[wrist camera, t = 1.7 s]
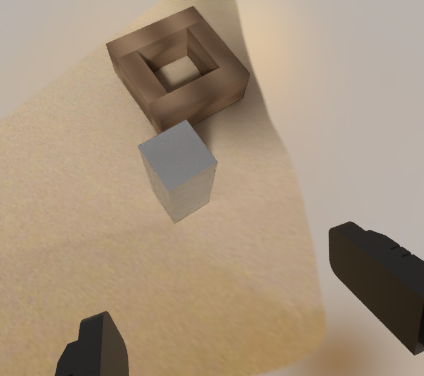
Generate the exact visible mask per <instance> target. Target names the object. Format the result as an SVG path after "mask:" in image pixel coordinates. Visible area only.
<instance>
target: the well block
mask: <svg viewBox="0 0 424 376" xmlns="http://www.w3.org/2000/svg"><path fill="white" fill-rule="evenodd" d="M106 46H107V49H108V52H109V55H110V58H111V61H112V64H113V67H114V70H115V72H116V74H117V75H118V76H119V78H120V79H121V81H122V82H123V84H124V85H125V86H126V88H127V89H128V91H129V92H130V94H131V95H132V96H133V98H134V99H135V101H136V102H137V104H138V105H139V107H140V108H141V109H142V111H143V112H144V114H145V115H146V117H147V118H148V119H149V121H150V122H151V124H152V125H153V127H154V128H155V130H156V131H157V132H158V134H161V133H162V132H164V131H166V130H168V129H170V128H172V127H174V126H175V125H177V124H179V123H181V122H183V121H185V120H187V121H188V122H189V124H190V125H191V126H192V125H194V124H196V123H198V122H200V121H201V120H203V119H205V118H207V117H209V116H210V115H212V114H214V113H216V112H218V111H220V110H221V109H223V108H225V107H227V106H229V105H230V104H232V103H234V102H236V101H238V100H240V99H241V98H243V96H244V93H245V89H246V86H247V82H248V79H249V75H250V73H249V72H248V70H247V69H246V68H245V67H244V66H243V65H242V63H241V62H240V61H239V60H238V59H237V57H236V56H235V55H234V54H233V53H232V52H231V50H230V49H229V48H228V47H227V46H226V44H225V43H224V42H223V41H222V40H221V39H220V37H219V36H218V35H217V34H216V33H215V31H214V30H213V29H212V28H211V27H210V26H209V24H208V23H207V22H206V21H205V20H204V18H203V17H202V16H201V15H200V14H199V13H198V11H197V10H196V9H195V8H194V7H193V6H192V7H190V8H188V9H185V10H183V11H181V12H178V13H176V14H174V15H171V16H169V17H167V18H164V19H162V20H160V21H158V22H155V23H153V24H151V25H148V26H146V27H144V28H141V29H139V30H137V31H134V32H132V33H130V34H127V35H125V36H123V37H121V38H118V39H116V40H114V41H111V42H109V43H107V44H106ZM186 55H188V57H189V58H190V59H191V60H192V62H193V63H194V64H195V65H196V67H197V68H198V69H199V70H200V72H201V73H202V74H203V76H202V77H200V78H198V79H196V80H194V81H192V82H190V83H188V84H186V85H184V86H182V87H180V88H178V89H176V90H174V91H172V92H170V93H167V91H166V90H165V89H164V87H163V86H162V85H161V83H160V82H159V81H158V79H157V78H156V77H155V75H154V74H153V71H155V70H157V69H159V68H161V67H163V66H165V65H167V64H169V63H172V62H174V61H176V60H178V59H180V58H182V57H184V56H186Z"/></svg>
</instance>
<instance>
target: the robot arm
mask: <svg viewBox="0 0 424 376" xmlns="http://www.w3.org/2000/svg"><path fill="white" fill-rule="evenodd" d="M329 260H330V265H331V268H332V270H333V272H334V273H335V275H336V276H337V277H338V278H339V279H340V280H341V281H342V282H343V283H344V284H345V285H346V286H347V287H348V289H350V291H351V292H352V293H353V294H354V295H355V296H356V297H357V298H358V299H359V300H360V301H361V302H362V303H363V304H364V305H365V306H366V307H367V308H368V309H369V310H370V311H371V312H372V313H373V314H374V315H375V316H376V317H377V318H378V319H379V320H380V321H381V322H382V323H383V324H384V325H385V326H386V327H387V328H388V329H389V330H390V331H391V332H392V333H393V334H394V335H395V336H396V337H397V338H398V339H399V340H400V341H401V343H403V344H404V345H405V346H406V348H407V349H408V350H409V351H410V352H411V353H412V354H413V355H417V354H419V353H421V352H423V351H424V261H423V260H421V259H420V258H418V257H417V256H415V255H414V254H413V255H412V254H411V252H409V251H408V250H406V249H405V248H403V247H400V245H399V244H398V243H396V242H394V241H393V240H392V239H390V238H389V237H387V236H385V235H383V234H380V233H377V232H374V231H372V230H368V231H365V230H363V229H362V228H361V227H359V226H358V225H356V224H355V223H353V222H347V223H344V224H341V225H339V226H336V227H333V228H331V229H330V230H329ZM55 376H129V367H128V354H127V349H126V346H125V343H124V340H123V338H122V337H121V335H120V333H119V331H118V329H117V327H116V325H115V324H114V322H113V320H112V318H111V316H110V314H109V313H108V312H107V311H105V312H102V313H99V314H97V315H94V316H91V317H89V318H86V319H83V320H82V321H81V323H80V329H79V336H78V340H77V341H74V342H72V343H69V344H67V346H66V348H65V350H64V352H63V354H62V355H61V357H60V359H59V361H58V363H57V368H56V373H55Z"/></svg>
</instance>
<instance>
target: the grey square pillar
mask: <svg viewBox="0 0 424 376" xmlns="http://www.w3.org/2000/svg"><path fill="white" fill-rule="evenodd" d="M138 148H139V151H140V154H141V157H142V160H143V163H144V165H145V168H146V171H147V174H148V177H149V180H150V183H151V186H152V189H153V191H154V193H155V194H156V196H157V197H158V199H159V200H160V202H161V203H162V205H163V207H164V208H165V210H166V211H167V213H168V214H169V216H170V217H171V219H172V220H173V222H174V223H177V222H178V221H180V220H181V219H183V218H184V217H186V216H188V215H189V214H191V213H192V212H194V211H195V210H197V209H199V208H200V207H202V206H203V205H205V204H206V203H208V202H209V198H210V194H211V189H212V185H213V181H214V176H215V172H216V168H217V163H218V162H217V160H216V159H215V158H214V156H213V155H212V154H211V152H210V151H209V150H208V148H207V147H206V145H205V144H204V143H203V141H202V140H201V139H200V137H199V136H198V135H197V133H196V132H195V131H194V129H193V128H192V126H191V125H190V124H189V122H188V121H187V120H185V121H183V122H181V123H179V124H177V125H175V126H174V127H172V128H170V129H168V130H166V131H164V132H162V133H161V134H159V135H157V136H155V137H153V138H151V139H150V140H148V141H146V142H144V143H142V144H140V145H138Z"/></svg>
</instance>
